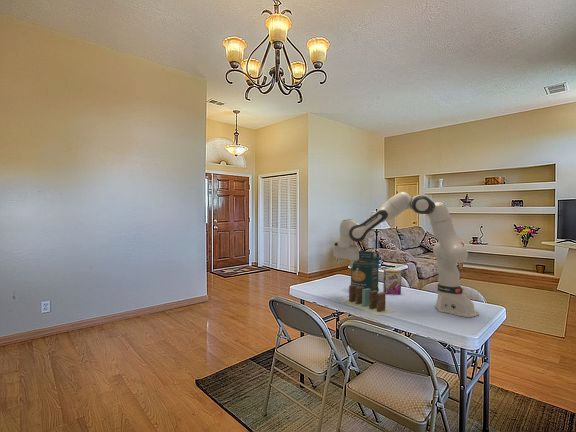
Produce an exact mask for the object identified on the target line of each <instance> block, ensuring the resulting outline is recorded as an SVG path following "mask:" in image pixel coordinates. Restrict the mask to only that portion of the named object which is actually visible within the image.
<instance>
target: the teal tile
mask: <svg viewBox="0 0 576 432" xmlns="http://www.w3.org/2000/svg"><path fill="white" fill-rule="evenodd" d="M369 291H371V289H369V288H367V289H362V306H364V307H366V306H369Z"/></svg>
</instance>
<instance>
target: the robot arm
mask: <svg viewBox="0 0 576 432" xmlns="http://www.w3.org/2000/svg"><path fill="white" fill-rule="evenodd" d="M406 210H412V211H413V212H414V213H416V214H420V215H427V216H428V218H429V221H430V225H431V230H432V232H433V236H434V238H436V240H437V241H438V242H437V243H435V244H434V245H433V249H432V251H433V254H434V256H435V259H436V264H437V269H438V283H437V299H436V303H435V305H434V308H435V309H437V311H438V312H441V313H446V314H450V315H453V316H454V315H455V316H457V317H458V316H459V317H463V318H474V316H475V317H477V316H479V315H480V312H479V311H478V310H475V304H474V302H473V301H472V300H471V299H470V298H469V297H468V296H467V295H465V294H464V293H463V291H464V289H465V288H464V287H463V288H462V287H461V286H460V285H461V282H460V279H461V276H460V275H461V274H460V270H459V269H458V265H457V264H462V263H465V261H467V259H468V256H469V251H468V250H467V249H466V247H465V246H464V245H463V244H462V242H461V241H460V239H459V237H458V235H457V233H456V231H455V227H454V225H453V221H452V217H451V214H450V212H449V209H448V208H447V205H446V203H444V202H442V201H437V202H434V201H432V199H430V198H429V197H428V196H426V195H424V194H417V195H416V194H415V195H410V194H409V193H408V192H406V191H400V192H398V193H397V194H394V195H393V196H392V197H390V198H389V199H387V200H386V201H385V202H384V203H383V204H382V205H381V206H380V207H379V208H378V209H377V210H376V211H375V213H374V214H372V215H371V216H370V217H369V218H367V219H366V220H365V221H363V222H362V223H358V222H356V221H354V220H353V219H351V218H348V219H343V220H342V221H341V222H340V224H339V238H338V239H339V241H336V242H333V250H332V253H333V254H332V255H333V257H335V258H337V261H338V265H343V261H342V259H345V260H349V261H350V263H349V264H348V267H349V268H351V267H353V263H354V261H357V260H359V251H360V250H359V247H358V246H357V245H354V242H356V243H360V242H362V241H364V240H365V239H367V238H368V236H369V233H370V232H371V231H372V230H373V229H374V228H375V227H377V226H378V225H380V224H382V223H384V222H387V221H390V220H392V219H394V218H396V217H398V216H399V215H400V214H402V213H403V212H404V211H406Z"/></svg>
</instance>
